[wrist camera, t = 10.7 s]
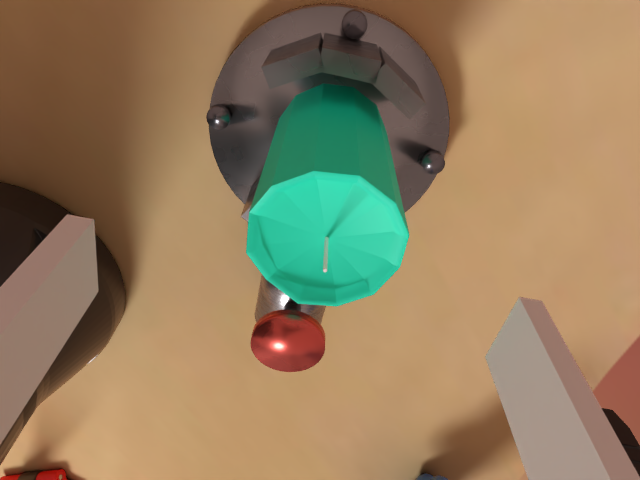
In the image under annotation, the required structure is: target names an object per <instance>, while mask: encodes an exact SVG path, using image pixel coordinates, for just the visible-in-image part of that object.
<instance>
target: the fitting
mask: <svg viewBox="0 0 640 480" xmlns="http://www.w3.org/2000/svg"><path fill="white" fill-rule="evenodd" d="M323 83H325V84H333V85H341V86H349V87H354V88H355V89H357V90H358V91H359V92H360V93H362V94H363V95H364V96H365V97H367V98H368V99H369V100H371V101H372V102H373V103H374V104H376V105H377V107H378V110H379V113H380V116H381V118H382V121H383V124H384V126H385V129H386V132H387V136H388V141H389V145H390V150H391V154H392V159H393V163H394V168H395V172H396V177H397V182H398V186H399V191H400V195H401V200H402V204H403V209H404V213H405V212H406V211H407V210H408V209H410V208H411V207H412V206H413V205H414V204H415V203H416V202H417V201H418V200H419V199H420V198H421V197H422V195H423V194H424V193H425V192H426V190H427V189H428V188H429V186H430V185H431V183H432V181H433V180H434V178H435V177H436V175H437V173H439V172H441V171H442V170H443V168H444V166H445V161H444V155H445V152H446V148H447V142H448V136H449V110H448V102H447V98H446V94H445V90H444V86H443V84H442V82H441V79H440V77H439V75H438V72H437V70H436V69H435V67H434V65H433V64H432V62H431V60H430V59H429V57H428V56H427V54H426V53H425V51H424V50H423V49H422V48H421V47H420V45H419V44H418V43H417V42H416V40H415V39H413V38H412V37H411V36H410V35H409V34H408V33H407V32H406V31H405V30H404V29H402V28H401V27H399V26H398V25H396V24H395V23H393V22H392V21H391V20H389V19H387V18H385V17H383V16H381V15H379V14H377V13H375V12H372V11H369V10H366V9H363V8H359V7H356V6H350V5H343V4H316V5H308V6H303V7H299V8H296V9H292V10H289V11H286V12H284V13H282V14H280V15H277V16H275V17H273V18H271V19H270V20H268V21H267V22H265V23H263V24H262V25H260V26H259V27H257V28H256V29H255V30H254V31H253V32H252V33H250V34H249V35H248V36H247V37H246V38H245V39H244V40H243V41H242V43H241V44H240V45H239V46H238V47H237V48H236V49H235V51H234V52H233V53H232V54H231V56H230V57H229V59H228V60H227V62H226V63H225V65H224V66H223V68H222V70H221V72H220V75H219V77H218V79H217V81H216V84H215V87H214V91H213V94H212V97H211V104H210V110H209V111H208V113H207V122H208V124H209V132H210V141H211V145H212V149H213V153H214V157H215V159H216V162H217V164H218V167H219V169H220V171H221V173H222V175H223V177H224V179H225V180H226V182H227V184H228V185H229V186H230V188H231V189H232V191H233V192H234V193H235V195H236V196H237V197H238V198H239V199H240V200H241V201H242V202H243V203H244V204H245V206H244V209H243V212H242V215H241V217H242V218H244V219H245V220H246V221H248V220H249V211H250V208H251V205H252V202H253V199H254V195H255V192H256V189H257V186H258V183H259V180H260V177H261V174H262V171H263V167H264V164H265V161H266V158H267V155H268V152H269V149H270V146H271V143H272V140H273V136H274V133H275V130H276V127H277V124H278V121H279V118H280V117H281V115H282V114H283V112H284V111H285V110H286V108H287V107H288V106H289V104H290V103H291V101H292V100H293V99H294V97H295V96H296V95H297V94H300V93H302V92H304V91H307V90H309V89H311V88H314V87H316V86H318V85H321V84H323ZM325 307H326V306H325V305H310V304H298V303H296V302H295V301H294V300H292V299H291V298H290V297H288V296H287V295H286V294H284V293H283V292H282V291H281V290H279V289H278V288H277V287H275V286H274V285H273V284H271V283H270V282H269V281H267V280H266V279H265V277H264V276H263V275H262V276H261V282H260V288H259V293H258V299H257V305H256V310H255V319H256V322H257V323H256V324H255V326H254V329H253V333H252V338H251V348H252V351H253V353H254V355H255V357H256V358H257V359H258V360H259V361H260V362H261V363H263V364H264V365H266V366H268V367H270V368H272V369H275V370H279V371H284V372H297V371H302V370H306V369H308V368H310V367H312V366H314V365H315V364H317V363H318V362H319V361H320V359H321V358H322V356H323V354H324V351H325V333H324V330H323V328H322V326H321V321H322V318H323V314H324V311H325Z"/></svg>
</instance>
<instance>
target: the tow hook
mask: <svg viewBox="0 0 640 480" xmlns="http://www.w3.org/2000/svg"><path fill="white" fill-rule="evenodd" d="M0 480H68V479H66V472H65V471H64V470H63V469H59V470H51V471H33V472H25V473H22V474H18V475H10V476H3V477H1V478H0Z"/></svg>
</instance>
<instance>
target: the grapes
mask: <svg viewBox="0 0 640 480" xmlns="http://www.w3.org/2000/svg"><path fill="white" fill-rule="evenodd" d="M416 480H448V479H447V478H445V477H443V476H439V475H438V476H435V477H433V476H432V475H430V474H426V473H425V474H422V475H420V476H419V477H418V478H417V479H416Z"/></svg>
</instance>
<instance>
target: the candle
mask: <svg viewBox="0 0 640 480" xmlns="http://www.w3.org/2000/svg"><path fill="white" fill-rule="evenodd" d="M408 238H409V231H408V227H407V222H406V218H405V213H404V209H403V204H402V200H401V195H400V191H399V186H398V182H397V177H396V172H395V168H394V163H393V159H392V154H391V150H390V145H389V141H388V136H387V132H386V129H385V126H384V124H383V121H382V118H381V116H380V113H379V110H378V107H377V105H376V104H374V103H373V102H372V101H371V100H369V99H368V98H367V97H365V96H364V95H363V94H362V93H360V92H359V91H358V90H357V89H355V88H354V87H349V86H341V85H333V84H325V83H323V84H321V85H318V86H316V87H314V88H311V89H309V90H307V91H304V92H302V93H300V94H297V95H296V96H295V97H294V99H293V100H292V101H291V103H290V104H289V106H288V107H287V108H286V110H285V111H284V112H283V114H282V115H281V117H280V118H279V121H278V124H277V127H276V130H275V133H274V136H273V140H272V143H271V146H270V149H269V152H268V155H267V158H266V161H265V164H264V167H263V171H262V174H261V177H260V180H259V183H258V186H257V189H256V192H255V195H254V199H253V202H252V205H251V208H250V211H249V220H248V234H247V249H246V253H247V255H248V256H249V257H250V259H251V260H252V261H253V263H254V264H255V265H256V267H257V268H258V269H259V271H260V272H261V273H262V275H263V276H264V277H265V279H266V280H267V281H269V282H270V283H271V284H273V285H274V286H275V287H277V288H278V289H279V290H281V291H282V292H283V293H284V294H286V295H287V296H288V297H290V298H291V299H292V300H294V301H295V302H296V303H298V304H310V305H325V306H339V305H343V304H346V303H349V302H352V301H355V300H358V299H361V298H364V297H367V296H371V295H374V294H375V293H376V292H377V291H378V289H379V288H380V287H381V286H382V285H383V284H384V283H385V282H386V281H387V280H388V279H389V278H390V277H391V276H392V275H393V274H394V273H395V272H396V271H397V270H398V269H399V268H400V265H401V262H402V259H403V255H404V252H405V248H406V245H407V241H408Z"/></svg>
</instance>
